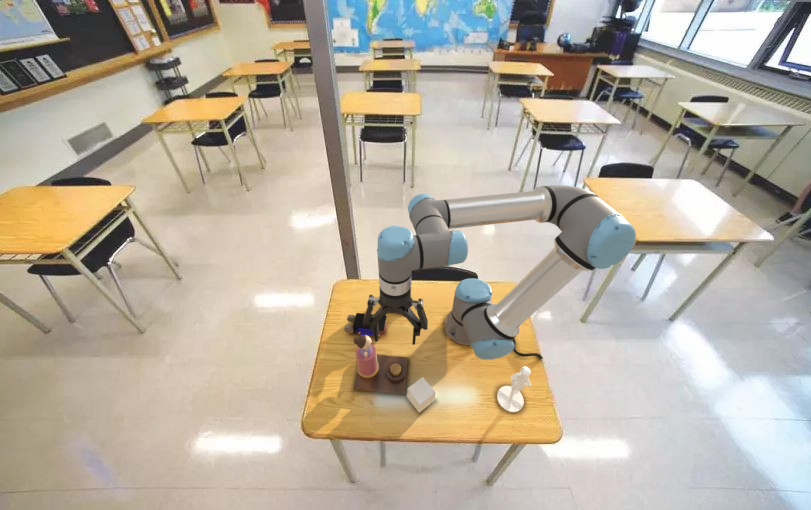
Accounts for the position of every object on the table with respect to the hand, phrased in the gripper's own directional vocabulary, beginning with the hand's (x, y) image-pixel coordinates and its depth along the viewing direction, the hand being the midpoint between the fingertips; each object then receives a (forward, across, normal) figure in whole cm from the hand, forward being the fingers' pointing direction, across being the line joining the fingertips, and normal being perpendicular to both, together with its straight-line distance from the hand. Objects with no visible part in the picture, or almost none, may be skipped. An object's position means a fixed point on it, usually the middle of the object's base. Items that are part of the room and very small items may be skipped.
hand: (395, 338), depth 90 cm
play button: (+19, 0, 0) cm, 19 cm away
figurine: (+22, +36, -4) cm, 43 cm away
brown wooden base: (+22, -4, 0) cm, 22 cm away
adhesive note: (+22, +8, -7) cm, 24 cm away
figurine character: (+22, -12, +16) cm, 30 cm away
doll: (+18, -9, 0) cm, 20 cm away
